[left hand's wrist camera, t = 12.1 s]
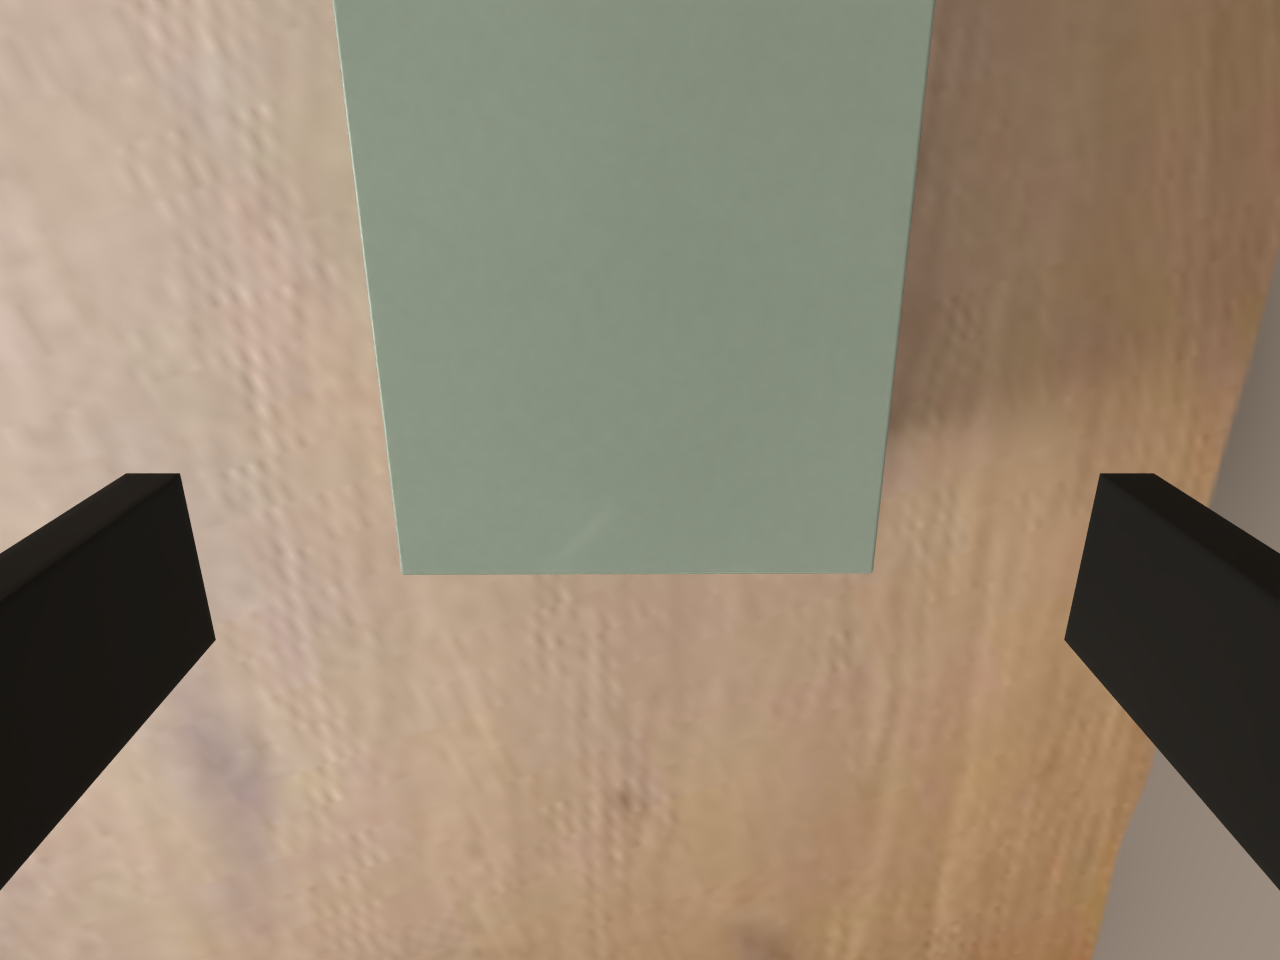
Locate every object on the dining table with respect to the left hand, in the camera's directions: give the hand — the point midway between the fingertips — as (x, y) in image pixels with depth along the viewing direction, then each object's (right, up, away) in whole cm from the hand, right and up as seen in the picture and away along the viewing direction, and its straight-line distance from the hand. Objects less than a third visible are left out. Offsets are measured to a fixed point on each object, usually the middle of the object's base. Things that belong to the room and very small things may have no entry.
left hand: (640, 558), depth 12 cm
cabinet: (0, +11, +12) cm, 17 cm away
